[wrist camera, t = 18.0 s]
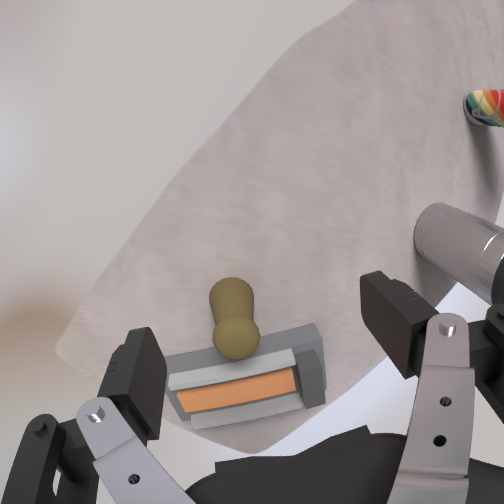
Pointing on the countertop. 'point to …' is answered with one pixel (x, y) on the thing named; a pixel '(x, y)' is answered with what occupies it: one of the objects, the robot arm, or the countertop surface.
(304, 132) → the countertop surface
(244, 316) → the olive pawn figure
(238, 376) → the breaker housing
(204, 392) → the lever
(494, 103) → the lotion bottle
